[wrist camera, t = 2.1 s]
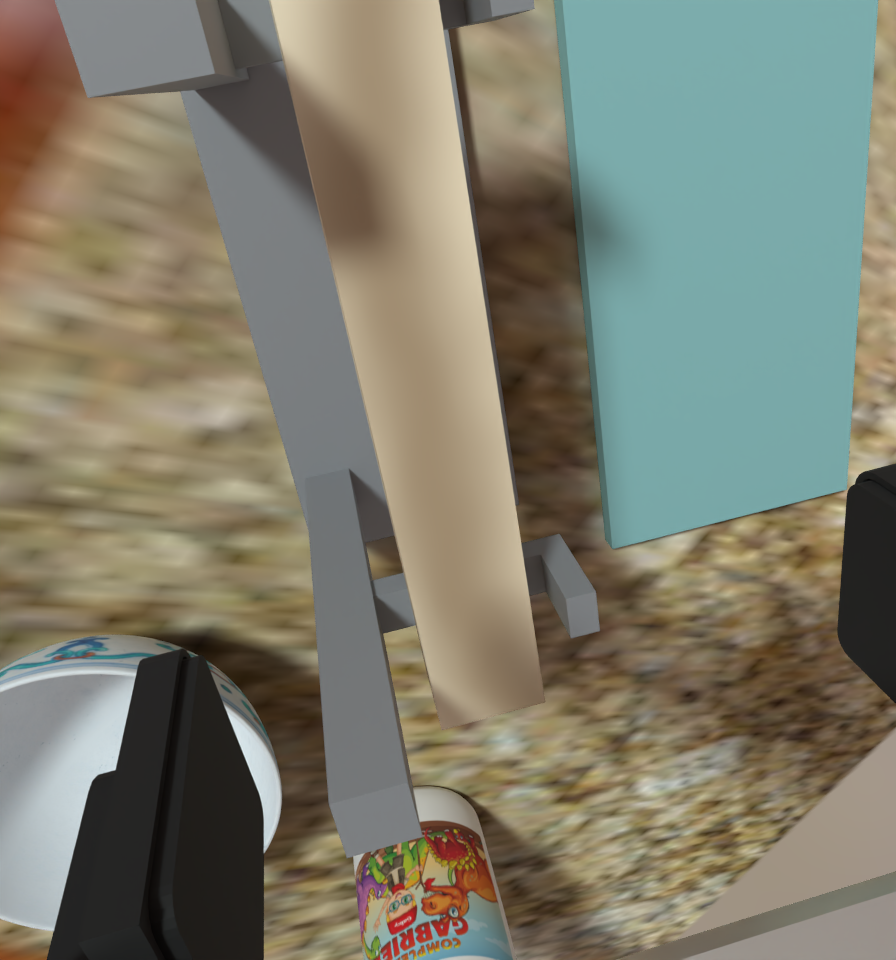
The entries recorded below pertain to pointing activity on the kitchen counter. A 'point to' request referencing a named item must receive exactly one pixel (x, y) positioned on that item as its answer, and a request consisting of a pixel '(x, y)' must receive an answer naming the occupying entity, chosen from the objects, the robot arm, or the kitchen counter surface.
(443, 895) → the milk bottle
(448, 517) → the rail
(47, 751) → the chinaware
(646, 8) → the mat
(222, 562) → the kitchen counter surface
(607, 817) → the kitchen counter surface
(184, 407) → the kitchen counter surface
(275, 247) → the rack
